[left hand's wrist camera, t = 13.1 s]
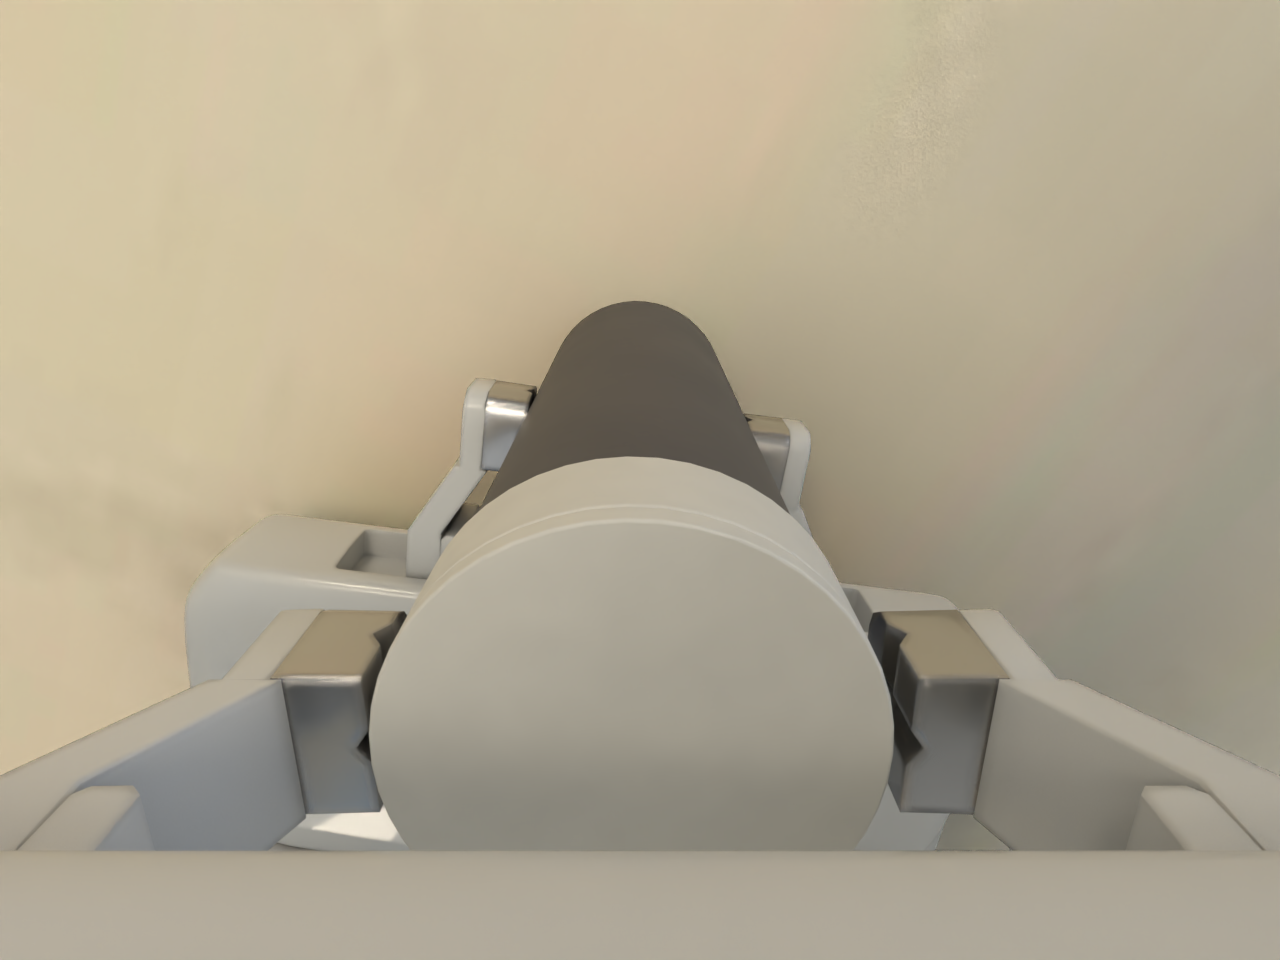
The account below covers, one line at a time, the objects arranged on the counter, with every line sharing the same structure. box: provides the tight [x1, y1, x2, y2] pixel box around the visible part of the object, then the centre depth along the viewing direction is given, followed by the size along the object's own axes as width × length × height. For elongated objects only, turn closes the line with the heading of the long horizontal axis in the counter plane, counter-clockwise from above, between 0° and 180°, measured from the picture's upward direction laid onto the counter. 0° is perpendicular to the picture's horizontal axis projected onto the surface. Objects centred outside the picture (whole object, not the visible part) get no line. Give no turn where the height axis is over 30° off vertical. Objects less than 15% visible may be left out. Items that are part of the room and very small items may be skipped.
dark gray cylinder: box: [479, 301, 790, 514], centre depth 16 cm, size 5×5×16 cm
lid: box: [369, 456, 894, 851], centre depth 9 cm, size 6×6×2 cm
